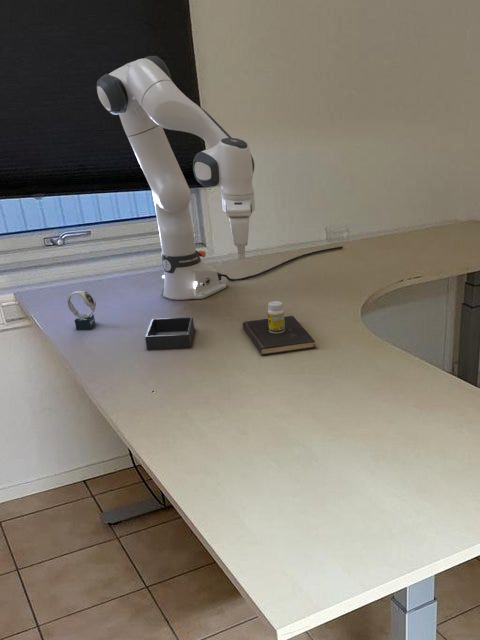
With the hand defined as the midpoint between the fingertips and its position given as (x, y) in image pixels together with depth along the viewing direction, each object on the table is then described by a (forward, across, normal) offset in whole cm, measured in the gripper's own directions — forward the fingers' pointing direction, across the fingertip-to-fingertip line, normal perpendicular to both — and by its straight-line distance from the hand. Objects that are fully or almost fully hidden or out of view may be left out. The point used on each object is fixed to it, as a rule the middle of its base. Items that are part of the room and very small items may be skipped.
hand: (241, 254), depth 212 cm
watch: (+25, -14, -49) cm, 57 cm away
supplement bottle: (+21, +6, +9) cm, 24 cm away
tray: (+24, +1, -22) cm, 33 cm away
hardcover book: (+24, +6, +9) cm, 26 cm away
